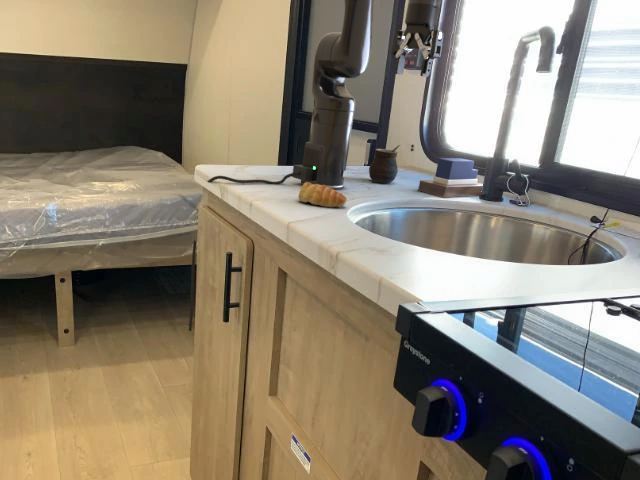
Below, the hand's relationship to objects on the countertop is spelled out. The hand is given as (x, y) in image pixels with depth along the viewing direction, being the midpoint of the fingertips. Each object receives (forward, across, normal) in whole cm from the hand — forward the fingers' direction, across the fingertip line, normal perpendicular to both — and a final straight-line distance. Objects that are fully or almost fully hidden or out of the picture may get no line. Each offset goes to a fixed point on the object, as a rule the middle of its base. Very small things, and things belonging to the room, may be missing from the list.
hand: (411, 75), depth 150 cm
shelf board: (+26, +18, +3) cm, 32 cm away
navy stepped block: (+24, +18, +3) cm, 30 cm away
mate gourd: (+26, +3, -7) cm, 27 cm away
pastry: (+26, +21, -42) cm, 54 cm away
